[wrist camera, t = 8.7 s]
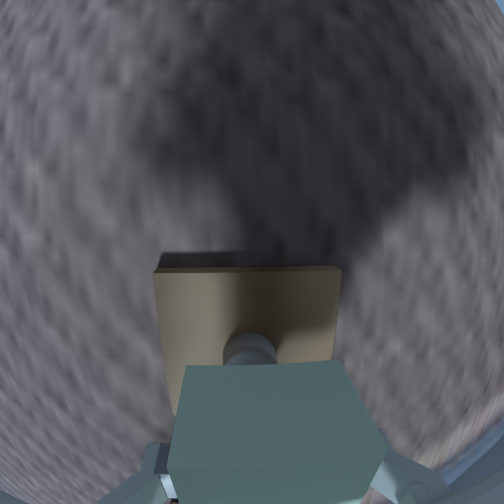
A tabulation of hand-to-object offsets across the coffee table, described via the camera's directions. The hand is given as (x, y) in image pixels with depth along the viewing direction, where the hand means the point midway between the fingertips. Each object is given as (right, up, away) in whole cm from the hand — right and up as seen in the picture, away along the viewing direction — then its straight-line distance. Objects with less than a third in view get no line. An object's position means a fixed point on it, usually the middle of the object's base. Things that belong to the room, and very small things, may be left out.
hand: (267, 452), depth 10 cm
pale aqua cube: (0, 0, +2) cm, 2 cm away
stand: (-1, +2, +8) cm, 8 cm away
